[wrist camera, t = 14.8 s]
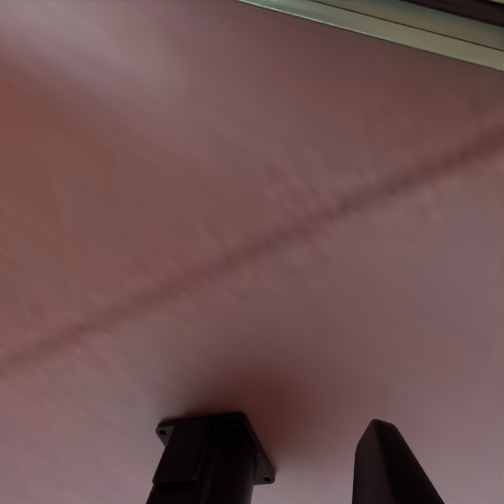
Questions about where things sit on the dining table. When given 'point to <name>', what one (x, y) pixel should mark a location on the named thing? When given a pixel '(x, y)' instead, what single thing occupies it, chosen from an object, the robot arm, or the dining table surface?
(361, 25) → the dish rack
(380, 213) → the dining table surface
